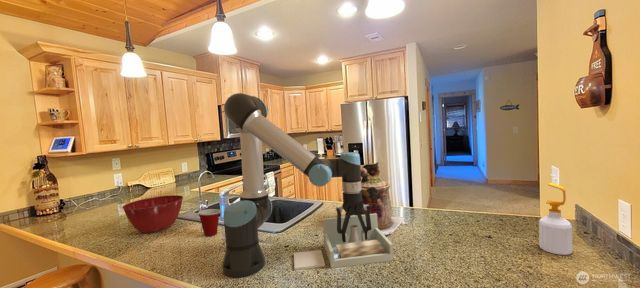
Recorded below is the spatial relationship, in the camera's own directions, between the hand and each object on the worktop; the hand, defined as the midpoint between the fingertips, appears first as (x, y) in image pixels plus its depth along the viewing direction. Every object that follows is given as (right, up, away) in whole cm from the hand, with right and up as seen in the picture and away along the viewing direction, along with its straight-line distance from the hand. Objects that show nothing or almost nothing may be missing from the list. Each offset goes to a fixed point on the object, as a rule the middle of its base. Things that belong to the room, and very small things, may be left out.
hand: (355, 248), depth 108 cm
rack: (0, -1, -2) cm, 3 cm away
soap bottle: (+73, +3, -9) cm, 73 cm away
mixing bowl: (-104, -5, +42) cm, 113 cm away
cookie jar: (+13, +1, +27) cm, 29 cm away
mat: (-18, -2, -5) cm, 19 cm away
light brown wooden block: (+1, -2, -7) cm, 7 cm away
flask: (0, -1, 0) cm, 1 cm away
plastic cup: (-69, -4, +28) cm, 74 cm away
